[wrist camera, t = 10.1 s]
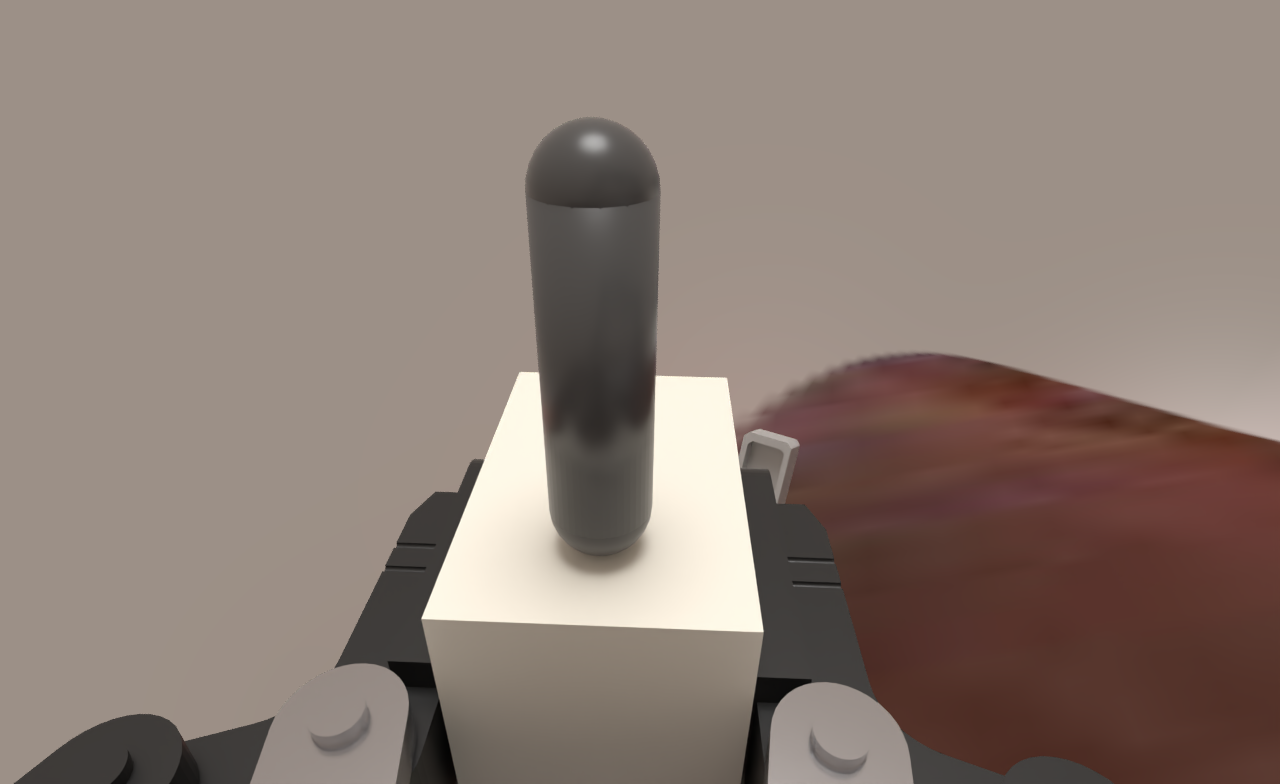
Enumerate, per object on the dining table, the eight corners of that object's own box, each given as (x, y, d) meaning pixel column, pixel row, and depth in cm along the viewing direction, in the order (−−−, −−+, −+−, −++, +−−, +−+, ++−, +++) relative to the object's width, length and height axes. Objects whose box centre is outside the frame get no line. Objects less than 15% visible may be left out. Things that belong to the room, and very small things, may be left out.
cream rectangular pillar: (686, 846, 16) (753, 71, 8) (690, 1111, 12) (837, 151, 4) (562, 840, 16) (492, 68, 8) (529, 1101, 13) (315, 141, 4)
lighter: (709, 724, 23) (725, 551, 19) (664, 702, 24) (670, 530, 20) (778, 586, 28) (802, 427, 24) (740, 571, 29) (757, 414, 25)
